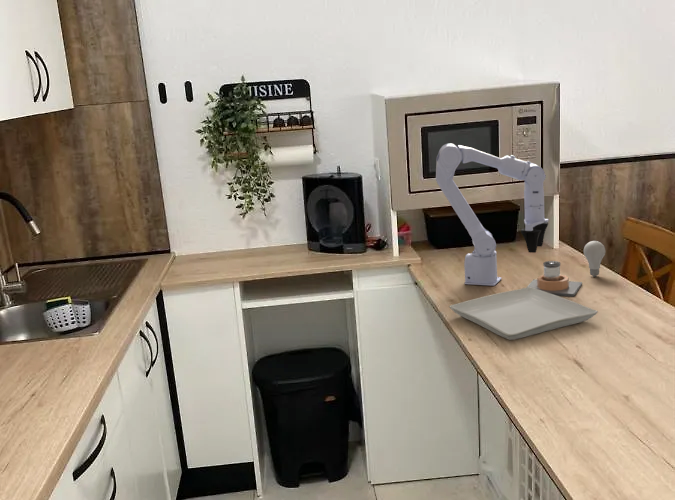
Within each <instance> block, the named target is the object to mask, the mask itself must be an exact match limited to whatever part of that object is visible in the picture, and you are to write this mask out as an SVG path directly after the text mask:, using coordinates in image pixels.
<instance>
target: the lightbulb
mask: <svg viewBox="0 0 675 500" xmlns="http://www.w3.org/2000/svg"><path fill="white" fill-rule="evenodd" d="M583 254H584V257H585V259H586V260H587V262H588V268H589V275H590V276H592V277H594V278H595V277H597V276H599V275H600V269H601V263H602V260H603V258H604V257H605V256H606V248H605V245H604V244H603V243H602V242H600V241H598V240H591V241H589V242H587V243H586V244H585V245H584V248H583Z"/></svg>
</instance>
